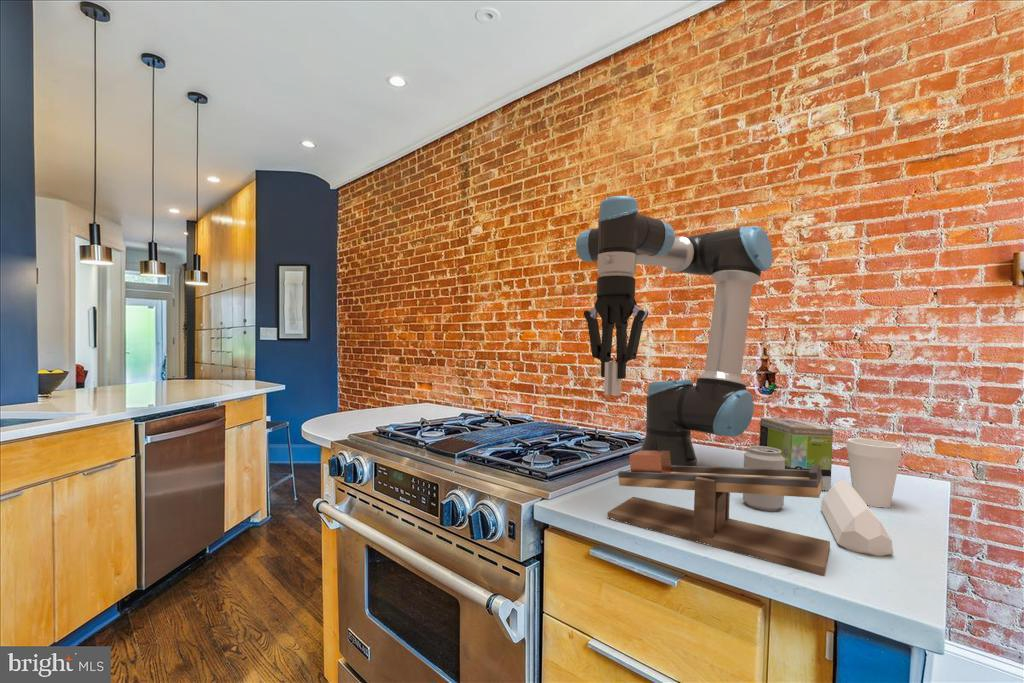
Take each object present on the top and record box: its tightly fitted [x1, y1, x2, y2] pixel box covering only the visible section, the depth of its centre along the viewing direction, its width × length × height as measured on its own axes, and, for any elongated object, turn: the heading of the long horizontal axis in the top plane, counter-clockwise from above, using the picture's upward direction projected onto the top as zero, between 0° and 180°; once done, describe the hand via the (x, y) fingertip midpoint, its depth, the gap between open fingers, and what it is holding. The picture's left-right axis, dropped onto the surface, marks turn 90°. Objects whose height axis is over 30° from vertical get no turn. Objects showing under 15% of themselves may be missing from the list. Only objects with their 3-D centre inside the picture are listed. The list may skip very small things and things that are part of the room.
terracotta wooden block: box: [628, 449, 672, 473], centre depth 92 cm, size 6×5×4 cm
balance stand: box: [607, 464, 831, 577], centre depth 85 cm, size 34×12×10 cm, turn 53°
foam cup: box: [846, 437, 903, 508], centre depth 104 cm, size 10×9×13 cm
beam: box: [617, 465, 823, 499], centre depth 85 cm, size 32×8×4 cm, turn 54°
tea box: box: [759, 417, 834, 492], centre depth 119 cm, size 15×10×15 cm
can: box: [742, 445, 785, 512], centre depth 100 cm, size 8×8×12 cm
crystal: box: [820, 479, 894, 557], centre depth 88 cm, size 7×7×24 cm
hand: (612, 394), depth 96 cm, fingers closed
